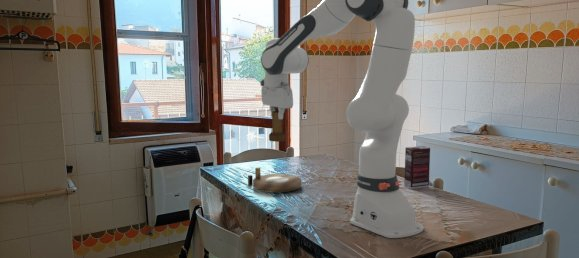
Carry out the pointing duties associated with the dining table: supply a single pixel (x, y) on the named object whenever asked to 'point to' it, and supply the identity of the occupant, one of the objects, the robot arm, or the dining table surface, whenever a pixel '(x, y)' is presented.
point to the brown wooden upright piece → (276, 128)
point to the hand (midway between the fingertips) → (277, 118)
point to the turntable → (275, 182)
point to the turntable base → (250, 180)
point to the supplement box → (417, 167)
